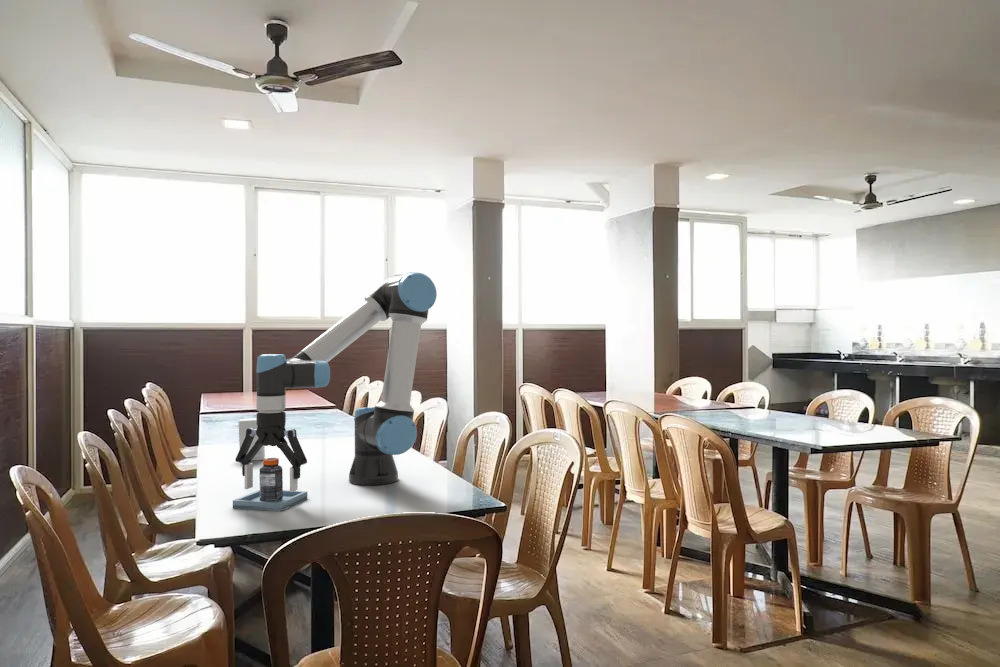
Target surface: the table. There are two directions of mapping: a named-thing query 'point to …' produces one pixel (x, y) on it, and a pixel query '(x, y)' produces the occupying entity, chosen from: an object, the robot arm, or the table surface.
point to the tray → (254, 502)
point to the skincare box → (252, 423)
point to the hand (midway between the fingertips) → (271, 489)
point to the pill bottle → (271, 481)
